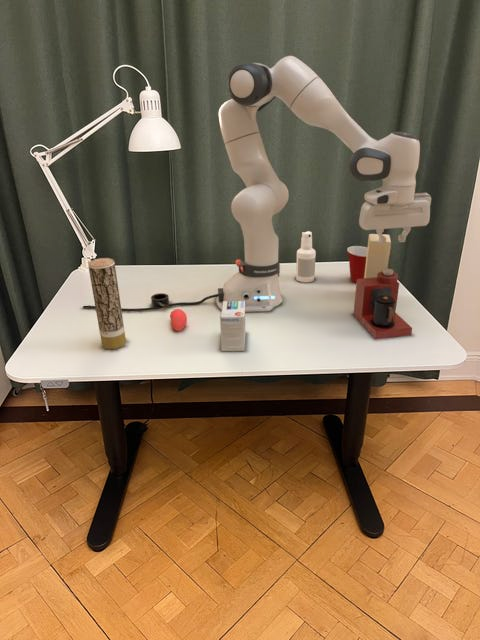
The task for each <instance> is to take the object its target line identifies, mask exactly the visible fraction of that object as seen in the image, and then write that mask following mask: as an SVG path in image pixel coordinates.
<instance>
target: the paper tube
mask: <svg viewBox="0 0 480 640" xmlns="http://www.w3.org/2000/svg"><path fill="white" fill-rule="evenodd" d="M87 266H88V267H87V268H88V272H89V278H90V283H91V290H92V296H93V301H94V306H95V308H96V309H95V311H96V312H95V313H96V319H97V324H98V329H99V335H100V341H101V346H102V347H103V348H104V349H107V350H118V349H120V348H122V347H123V346H124V345H125V344H126V343H127V339H126V331H125V324H124V317H123V311H122V310H121V308H122V304H121V296H120V289H119V284H118V283H119V282H118V277H117V269H116V263H115V259H113V258H110V257H101V258H100V257H99V258H95V259H92V260H90V261H88V263H87Z"/></svg>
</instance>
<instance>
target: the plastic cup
mask: <svg viewBox="0 0 480 640" xmlns="http://www.w3.org/2000/svg"><path fill="white" fill-rule="evenodd" d="M367 247H368V246H360V245H352V246H349V247H347V248H346V249H347V250H346V251H347V254H348V264H349V275H350V281H351V282H352V283H354V284H356V283H357V279H363V278H364V275H365V266H366V257H367Z"/></svg>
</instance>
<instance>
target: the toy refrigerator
mask: <svg viewBox="0 0 480 640" xmlns="http://www.w3.org/2000/svg"><path fill="white" fill-rule="evenodd" d="M382 235H383V236H384V237H386V243H382V244H380V243H379V236H378V234H377V233H369V234H368V239H367V246H366V247H367V257H366V266H365V275H364V278H375V277H377V275H378V273H379V272H382V271H383V270H384V269H389V260H390V254H391V248H392V241H391V236H390V234H386V233H385V234H383V233H382Z"/></svg>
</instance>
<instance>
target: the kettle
mask: <svg viewBox="0 0 480 640" xmlns="http://www.w3.org/2000/svg"><path fill="white" fill-rule="evenodd" d="M394 310H395V300H394V299H393V298H392V297H390V296H379V297H378V298H376V299H375V307H374V316H373V323H374V324H376V325H378V326H382V327H387V326H391V325H392V324H393V317H394Z"/></svg>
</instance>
